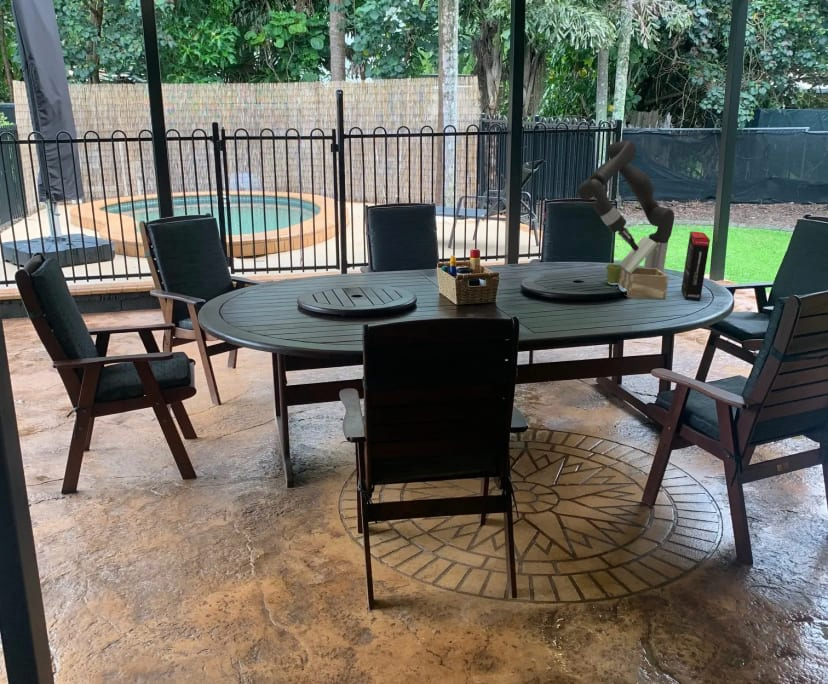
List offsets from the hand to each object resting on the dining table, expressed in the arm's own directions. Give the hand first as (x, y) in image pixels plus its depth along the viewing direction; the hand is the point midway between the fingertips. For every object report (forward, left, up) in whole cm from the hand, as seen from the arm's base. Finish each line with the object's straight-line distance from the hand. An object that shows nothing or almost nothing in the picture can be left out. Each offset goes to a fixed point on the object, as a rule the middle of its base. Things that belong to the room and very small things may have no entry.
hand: (636, 249), depth 334 cm
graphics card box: (+2, +26, -19) cm, 32 cm away
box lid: (+3, 0, -2) cm, 4 cm away
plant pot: (-12, -4, -19) cm, 23 cm away
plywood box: (+3, +4, -19) cm, 19 cm away
